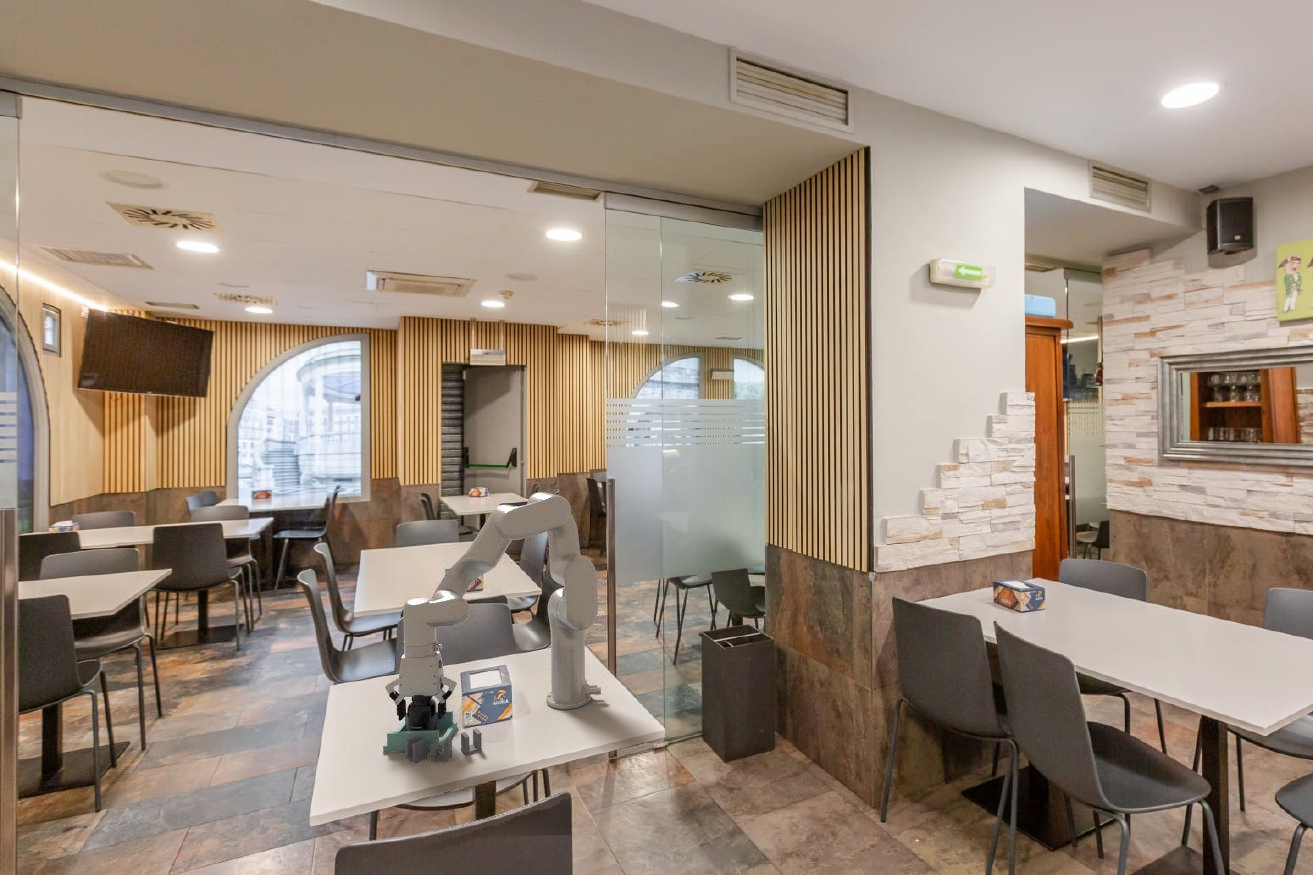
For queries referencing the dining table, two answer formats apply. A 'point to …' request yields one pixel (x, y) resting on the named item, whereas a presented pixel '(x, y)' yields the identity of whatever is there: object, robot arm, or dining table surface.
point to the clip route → (418, 748)
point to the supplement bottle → (422, 714)
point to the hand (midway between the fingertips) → (421, 717)
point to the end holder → (420, 734)
